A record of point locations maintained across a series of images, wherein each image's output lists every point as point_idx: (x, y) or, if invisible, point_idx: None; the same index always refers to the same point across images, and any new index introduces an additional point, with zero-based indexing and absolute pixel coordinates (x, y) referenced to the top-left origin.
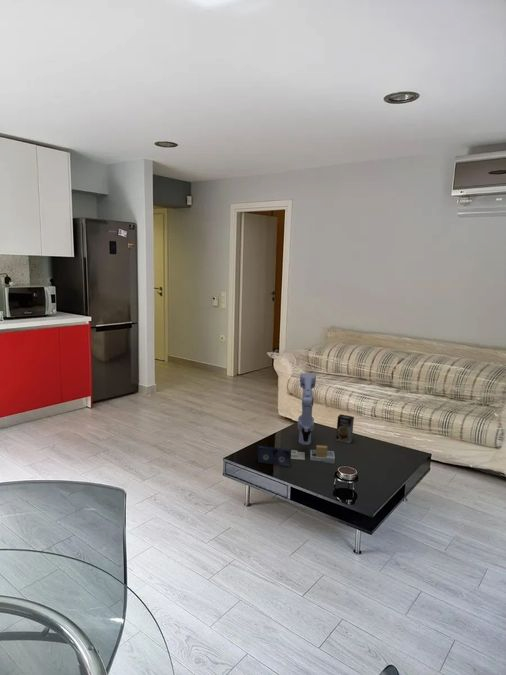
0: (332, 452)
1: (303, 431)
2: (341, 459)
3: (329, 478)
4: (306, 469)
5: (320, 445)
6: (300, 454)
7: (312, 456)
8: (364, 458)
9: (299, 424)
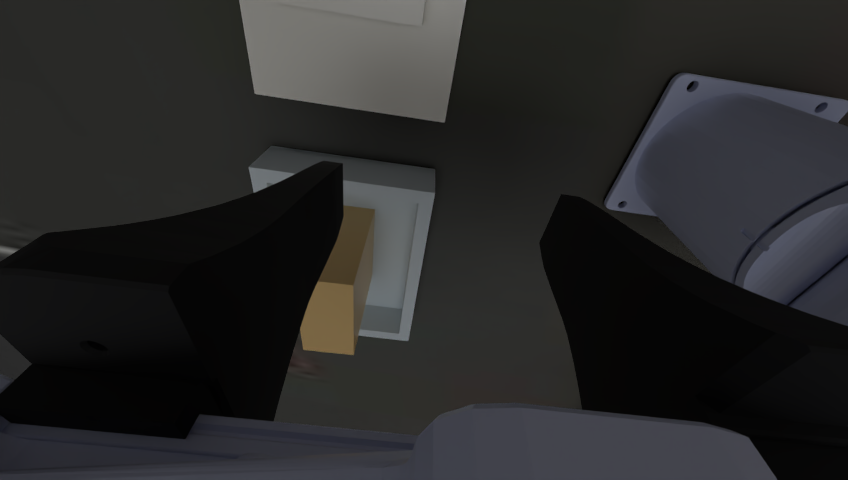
0: (395, 330)
1: (18, 319)
2: (367, 336)
3: (43, 234)
4: (79, 79)
5: (353, 315)
6: (382, 60)
7: (264, 186)
8: (395, 408)
9: (509, 460)
